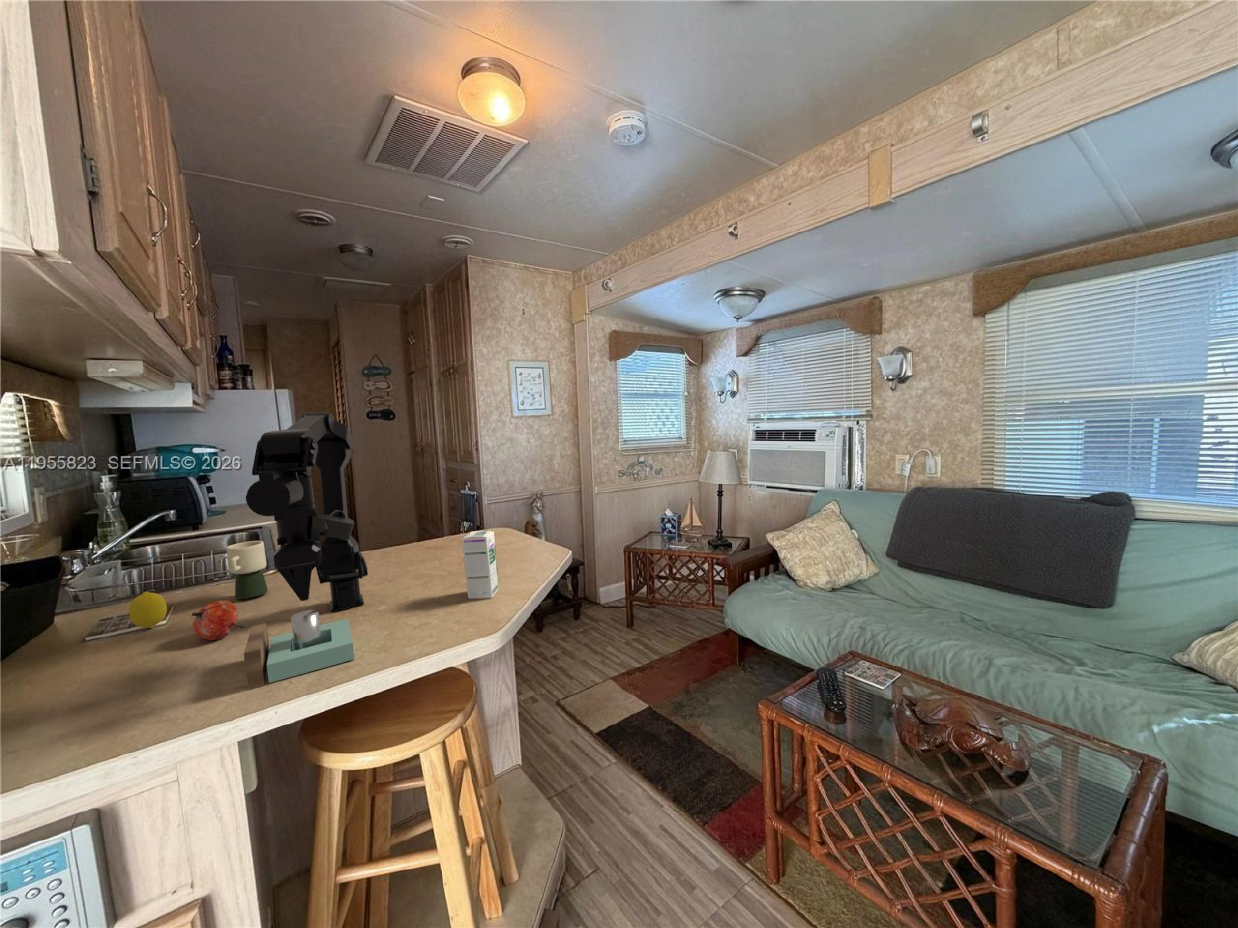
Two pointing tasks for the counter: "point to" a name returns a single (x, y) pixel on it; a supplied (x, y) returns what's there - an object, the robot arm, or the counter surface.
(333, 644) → the socket block
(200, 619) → the red rounded lumpy piece
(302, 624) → the dowel
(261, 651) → the backstop wall
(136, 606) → the lemon
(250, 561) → the character mug
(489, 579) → the syrup box
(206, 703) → the counter surface
